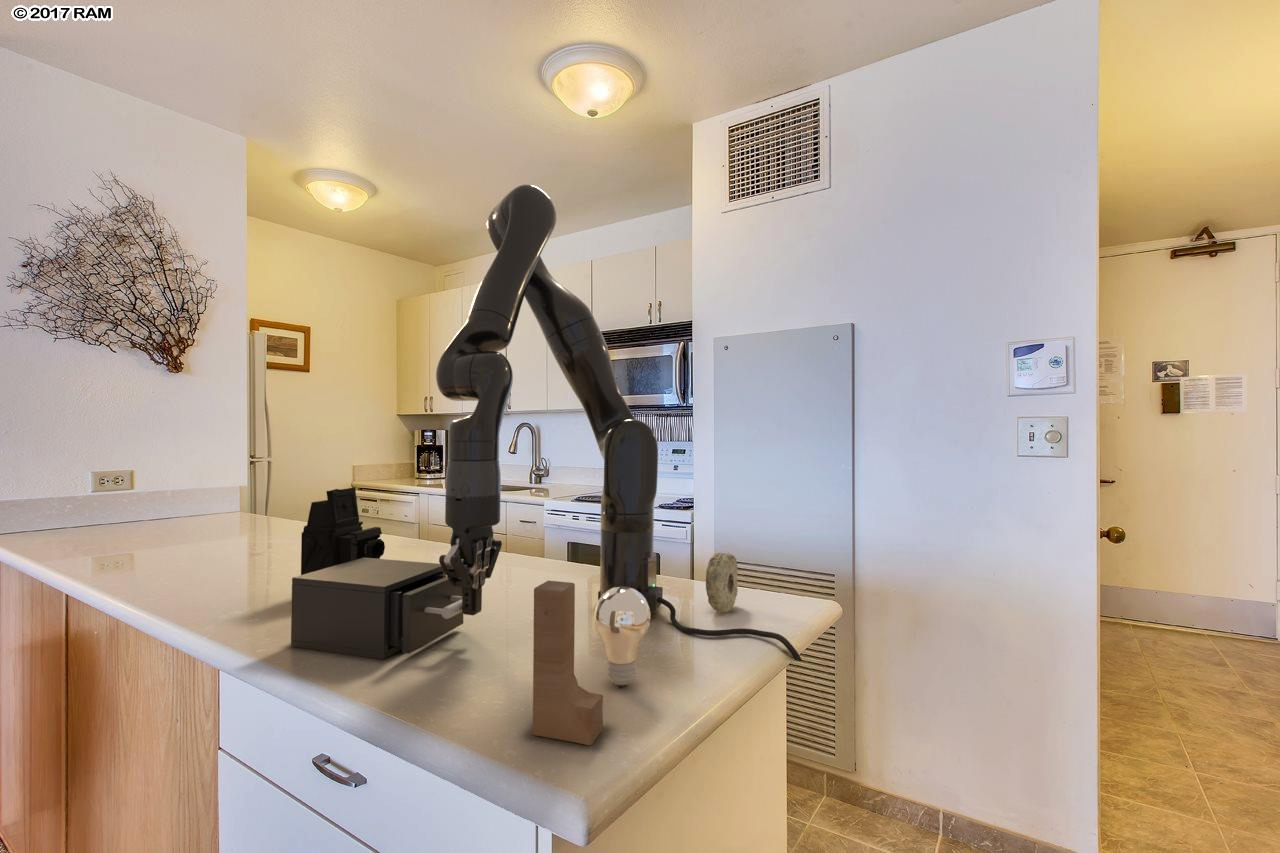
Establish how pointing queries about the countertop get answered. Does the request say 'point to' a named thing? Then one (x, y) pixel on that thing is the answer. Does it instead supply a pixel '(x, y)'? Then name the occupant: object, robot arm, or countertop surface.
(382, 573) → the dark drawer cabinet
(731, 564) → the stone ring
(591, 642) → the countertop surface
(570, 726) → the wooden block
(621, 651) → the light bulb
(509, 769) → the countertop surface
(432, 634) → the pull-out drawer
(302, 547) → the camera
